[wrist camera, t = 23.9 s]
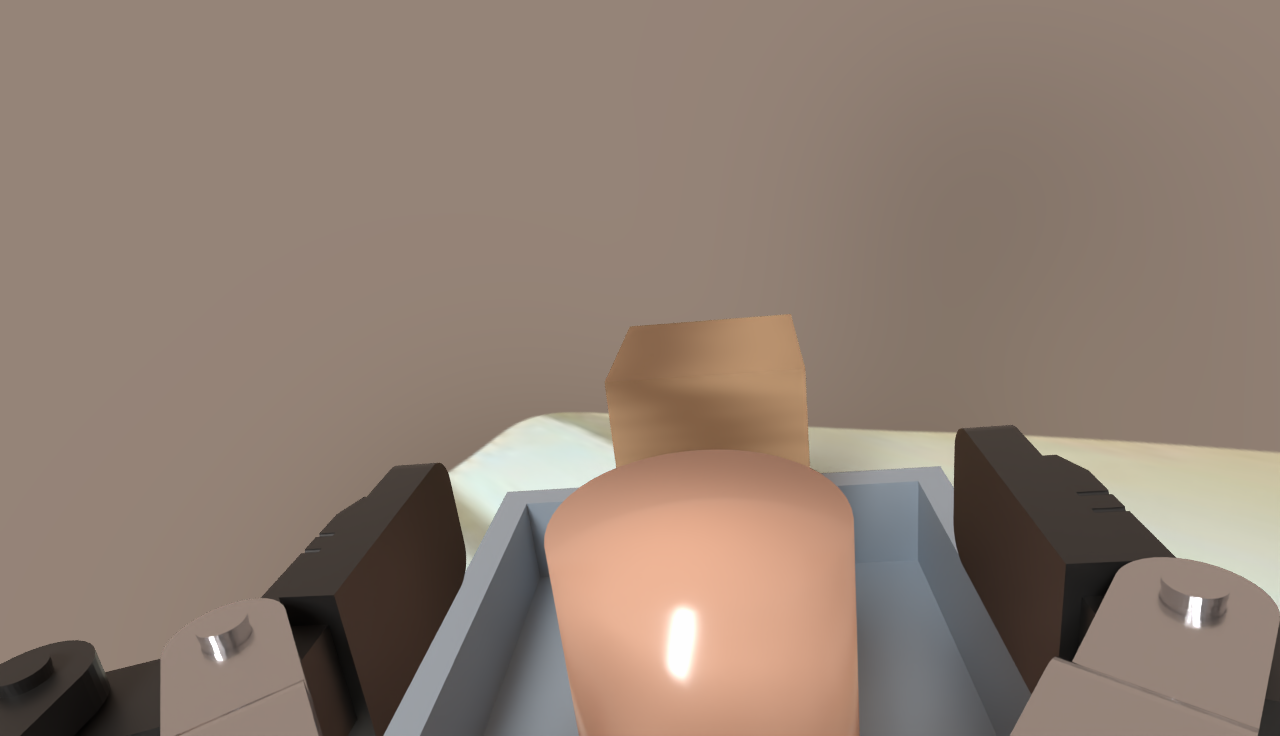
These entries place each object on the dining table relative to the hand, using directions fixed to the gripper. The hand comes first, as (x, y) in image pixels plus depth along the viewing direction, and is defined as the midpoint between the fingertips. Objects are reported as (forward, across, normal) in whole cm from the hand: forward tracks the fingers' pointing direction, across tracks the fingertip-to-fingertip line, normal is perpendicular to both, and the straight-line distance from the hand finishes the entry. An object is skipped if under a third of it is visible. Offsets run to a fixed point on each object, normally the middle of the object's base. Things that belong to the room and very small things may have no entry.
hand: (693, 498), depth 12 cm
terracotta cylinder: (0, 0, +10) cm, 11 cm away
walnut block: (+10, 0, +11) cm, 14 cm away
